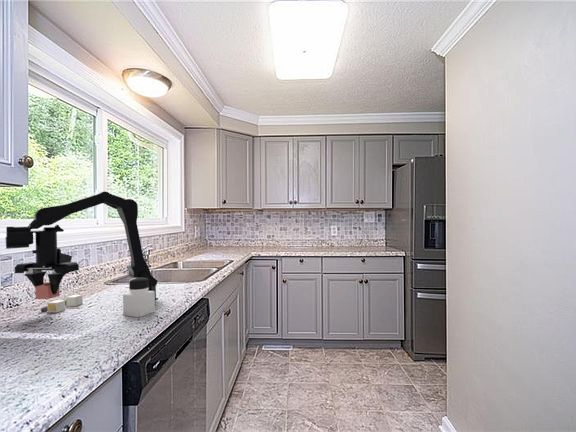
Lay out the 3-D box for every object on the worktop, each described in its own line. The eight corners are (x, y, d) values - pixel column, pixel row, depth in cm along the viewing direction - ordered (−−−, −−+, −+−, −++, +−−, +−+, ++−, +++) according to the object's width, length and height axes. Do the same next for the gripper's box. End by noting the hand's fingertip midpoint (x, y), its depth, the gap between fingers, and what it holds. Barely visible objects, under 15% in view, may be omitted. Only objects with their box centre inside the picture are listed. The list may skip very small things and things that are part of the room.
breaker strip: (95, 306, 126) (95, 298, 126) (63, 318, 111) (63, 310, 111) (71, 306, 127) (71, 298, 127) (36, 318, 112) (36, 309, 112)
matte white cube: (65, 309, 117) (65, 300, 117) (56, 312, 113) (56, 303, 113) (56, 309, 117) (55, 300, 117) (46, 312, 113) (46, 303, 113)
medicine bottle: (155, 311, 117) (154, 276, 117) (140, 317, 111) (139, 280, 111) (138, 310, 120) (138, 275, 120) (122, 315, 113) (122, 279, 113)
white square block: (82, 303, 125) (82, 295, 125) (75, 306, 121) (75, 297, 121) (73, 303, 125) (73, 294, 125) (66, 306, 122) (66, 297, 122)
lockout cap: (59, 295, 113) (59, 281, 113) (48, 299, 109) (47, 284, 109) (47, 295, 114) (46, 281, 114) (35, 299, 109) (35, 284, 109)
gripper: (90, 243, 118) (91, 288, 118) (42, 244, 121) (43, 288, 121) (64, 246, 107) (66, 296, 107) (12, 247, 110) (13, 296, 110)
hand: (47, 294), depth 111 cm, fingers closed on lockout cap, 4 cm apart
